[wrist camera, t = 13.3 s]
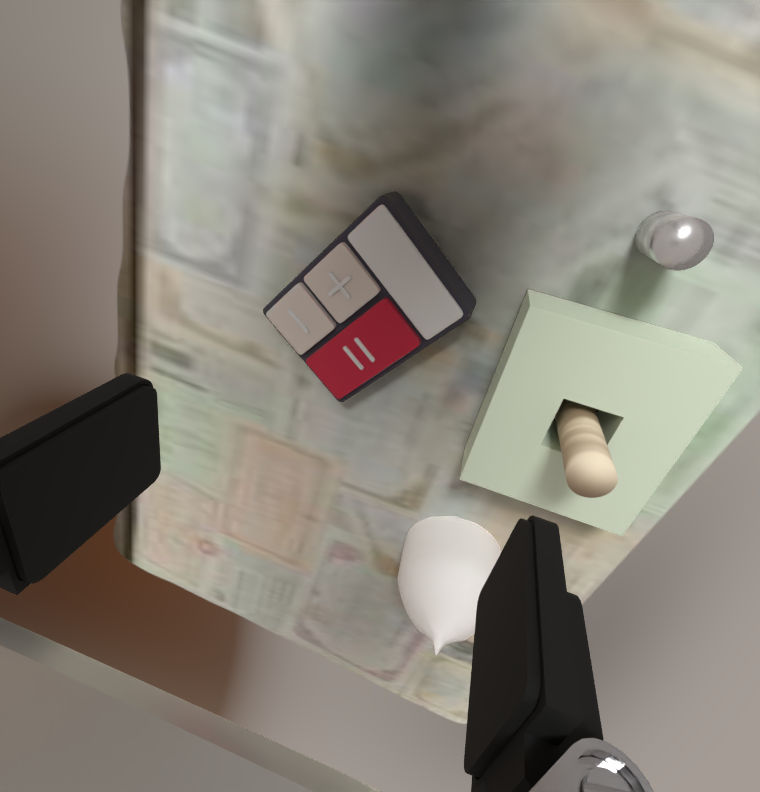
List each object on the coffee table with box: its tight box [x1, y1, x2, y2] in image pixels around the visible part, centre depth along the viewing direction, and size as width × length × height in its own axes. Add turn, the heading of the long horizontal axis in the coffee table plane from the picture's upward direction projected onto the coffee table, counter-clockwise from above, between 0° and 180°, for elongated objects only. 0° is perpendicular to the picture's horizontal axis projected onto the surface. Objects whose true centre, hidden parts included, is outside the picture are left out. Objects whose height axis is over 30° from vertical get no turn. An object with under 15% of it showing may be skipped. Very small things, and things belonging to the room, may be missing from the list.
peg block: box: [459, 289, 743, 536], centre depth 35 cm, size 16×14×5 cm
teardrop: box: [397, 516, 501, 655], centre depth 44 cm, size 11×11×12 cm
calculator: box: [263, 192, 476, 402], centre depth 37 cm, size 11×4×15 cm
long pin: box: [555, 399, 618, 498], centre depth 33 cm, size 3×3×11 cm
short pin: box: [635, 211, 714, 270], centre depth 28 cm, size 3×3×5 cm
